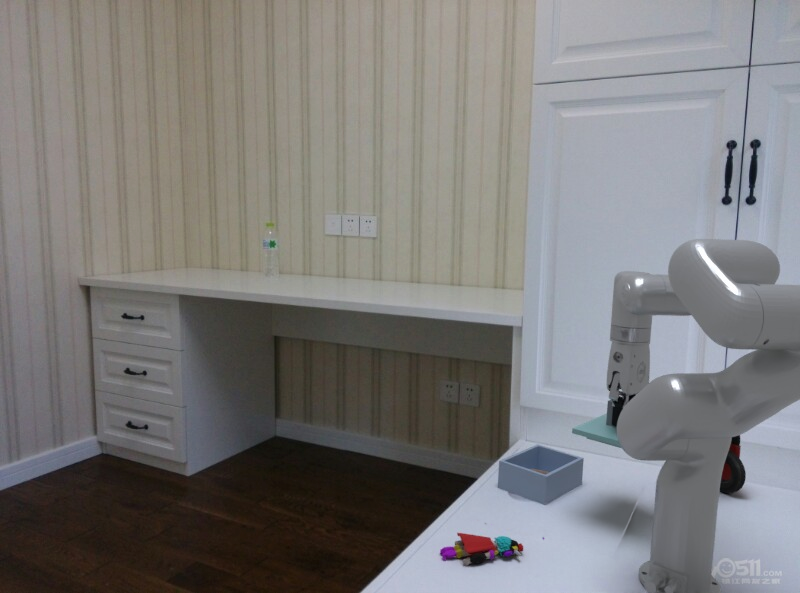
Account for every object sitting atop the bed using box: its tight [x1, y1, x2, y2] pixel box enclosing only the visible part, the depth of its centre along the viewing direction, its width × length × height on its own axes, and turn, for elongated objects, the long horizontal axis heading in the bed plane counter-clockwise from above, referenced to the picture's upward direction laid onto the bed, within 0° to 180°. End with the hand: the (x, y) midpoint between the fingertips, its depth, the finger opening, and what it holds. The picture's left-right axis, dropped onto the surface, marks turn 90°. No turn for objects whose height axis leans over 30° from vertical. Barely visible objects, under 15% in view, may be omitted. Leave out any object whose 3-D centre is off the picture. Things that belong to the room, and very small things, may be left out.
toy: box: [439, 532, 524, 567], centre depth 117 cm, size 8×4×15 cm
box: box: [497, 443, 585, 506], centre depth 146 cm, size 16×12×7 cm
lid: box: [571, 399, 622, 449], centre depth 130 cm, size 17×13×7 cm
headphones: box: [719, 435, 747, 494], centre depth 145 cm, size 18×10×20 cm, turn 114°
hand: (623, 424), depth 130 cm, fingers closed on lid, 2 cm apart
